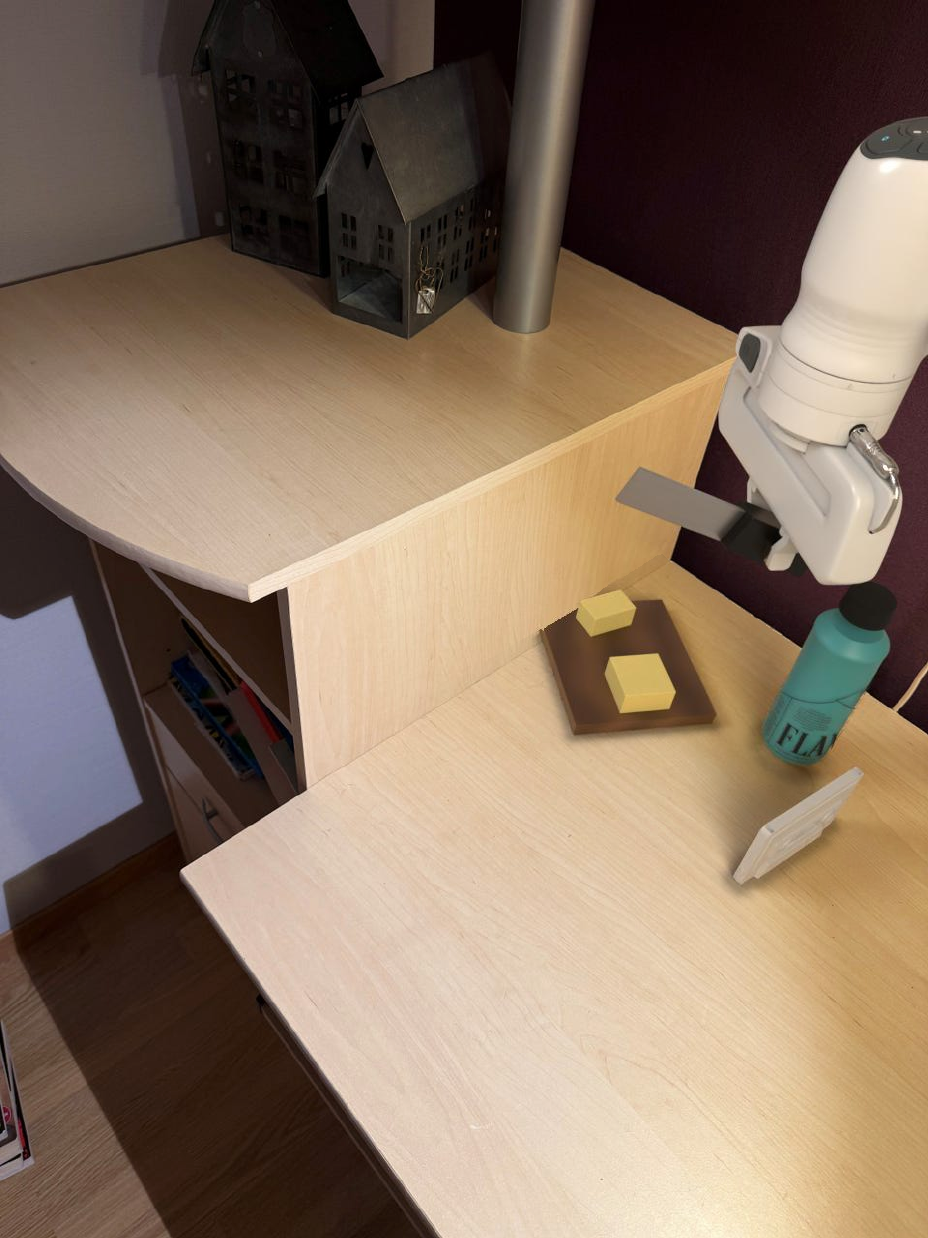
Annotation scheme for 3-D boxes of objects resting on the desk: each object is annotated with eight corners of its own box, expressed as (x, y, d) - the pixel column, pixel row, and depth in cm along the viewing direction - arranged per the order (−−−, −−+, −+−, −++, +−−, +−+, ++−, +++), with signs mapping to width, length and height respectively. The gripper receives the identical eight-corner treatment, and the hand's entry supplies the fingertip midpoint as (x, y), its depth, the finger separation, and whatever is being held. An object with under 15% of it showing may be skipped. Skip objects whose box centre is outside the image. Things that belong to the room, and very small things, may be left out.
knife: (787, 558, 73) (814, 529, 71) (799, 578, 71) (828, 548, 70) (610, 490, 65) (636, 455, 63) (620, 510, 63) (647, 475, 62)
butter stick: (652, 670, 90) (658, 653, 88) (669, 709, 86) (676, 691, 84) (604, 674, 89) (609, 656, 87) (619, 713, 85) (625, 696, 83)
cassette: (742, 891, 75) (773, 841, 69) (726, 874, 76) (755, 822, 70) (836, 827, 80) (871, 776, 75) (819, 812, 81) (853, 760, 76)
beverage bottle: (753, 767, 84) (835, 612, 70) (754, 715, 89) (831, 559, 75) (824, 785, 83) (921, 632, 69) (821, 731, 88) (911, 577, 74)
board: (658, 609, 98) (662, 599, 97) (712, 724, 87) (717, 714, 86) (534, 616, 96) (536, 605, 95) (573, 735, 85) (576, 725, 84)
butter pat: (615, 606, 96) (620, 588, 94) (631, 625, 94) (636, 607, 92) (575, 617, 94) (580, 600, 92) (590, 637, 92) (595, 619, 90)
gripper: (956, 480, 54) (863, 642, 63) (809, 318, 68) (751, 471, 78) (860, 482, 53) (780, 647, 62) (731, 317, 67) (682, 472, 77)
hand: (763, 548), depth 70 cm, fingers closed on knife, 2 cm apart
